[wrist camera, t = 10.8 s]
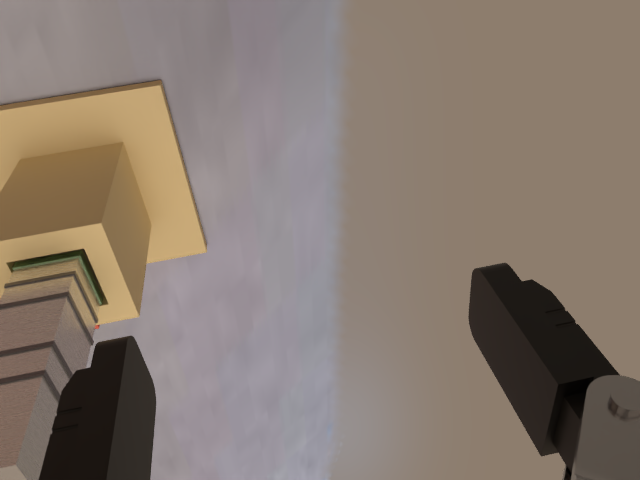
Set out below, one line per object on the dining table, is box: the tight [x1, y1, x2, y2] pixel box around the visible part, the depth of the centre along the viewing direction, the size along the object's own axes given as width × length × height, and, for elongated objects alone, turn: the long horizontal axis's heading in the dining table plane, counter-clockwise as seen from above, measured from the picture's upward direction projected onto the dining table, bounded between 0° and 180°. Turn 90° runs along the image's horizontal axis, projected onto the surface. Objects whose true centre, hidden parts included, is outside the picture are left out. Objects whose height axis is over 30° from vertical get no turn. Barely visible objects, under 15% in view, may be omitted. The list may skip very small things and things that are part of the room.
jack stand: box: [0, 80, 207, 329], centre depth 41 cm, size 16×16×13 cm
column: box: [0, 249, 103, 480], centre depth 32 cm, size 4×4×20 cm
